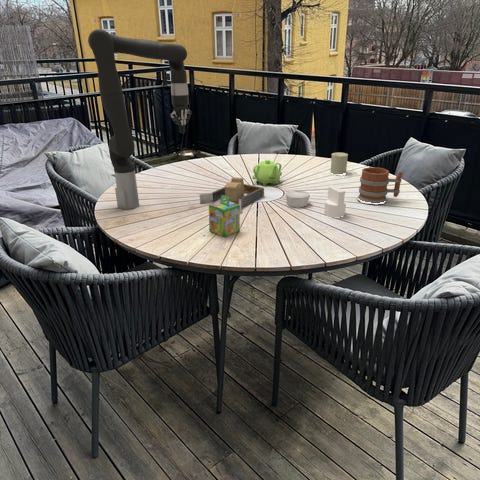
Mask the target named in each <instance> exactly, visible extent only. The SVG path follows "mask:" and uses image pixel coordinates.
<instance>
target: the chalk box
mask: <svg viewBox="0 0 480 480" xmlns="http://www.w3.org/2000/svg"><path fill="white" fill-rule="evenodd" d="M225 199H226V200H225ZM240 216H241V213H240V205H239V204H236V203H233V202H231V201H230V197H227V196H224V195H222V196H221V199H220V201H219V200H218V201H217V202H216V201H215V202H212V203H209V204H208V222H209V223H208V225H209V226H208V228H209V229H208V230H209V232H211V233H214V234H217V235H218V236H221V237H222V238H225V237H228V236H230V235H233V234H235V233H238V232H240V230H241V229H240V228H241V226H240V225H241V224H240V222H241V221H240V220H241V217H240Z"/></svg>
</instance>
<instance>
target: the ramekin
mask: <svg viewBox="0 0 480 480" xmlns="http://www.w3.org/2000/svg"><path fill="white" fill-rule="evenodd" d="M310 196H311V194H310V193H309V192H307V191H304V190H290V191H287V192H286V193H285V198H286V204H287V205H288V206H289V207H291V206H292V207H291V208H297V207H300V208H304V207H303V206H305V207H307V205H308V204H309V200H310Z"/></svg>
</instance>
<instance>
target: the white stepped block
mask: <svg viewBox="0 0 480 480" xmlns="http://www.w3.org/2000/svg"><path fill="white" fill-rule="evenodd" d="M327 189H328V190H327V199H326V200H325V201H324V210H323V215H324V214H325V215H327V216H330V217H341V216H344V215H346V205H347V202H346V200H345V195H346V191H345V190H343V189H342V188H339V186H336V185H328V188H327ZM325 215H324V216H325ZM344 217H345V216H344Z"/></svg>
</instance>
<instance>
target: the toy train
mask: <svg viewBox="0 0 480 480" xmlns="http://www.w3.org/2000/svg"><path fill="white" fill-rule="evenodd" d="M244 184H245V182H244V177H235V176H233V177H231V181H230V182H227V183H226V184H224V186H223V187H224V188H225V196H227V197H230V201H231V202H233V203H236V204H239V198H241V197H243V196H245V193H244V191H245V188H244ZM224 200H226V199H224Z"/></svg>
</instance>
